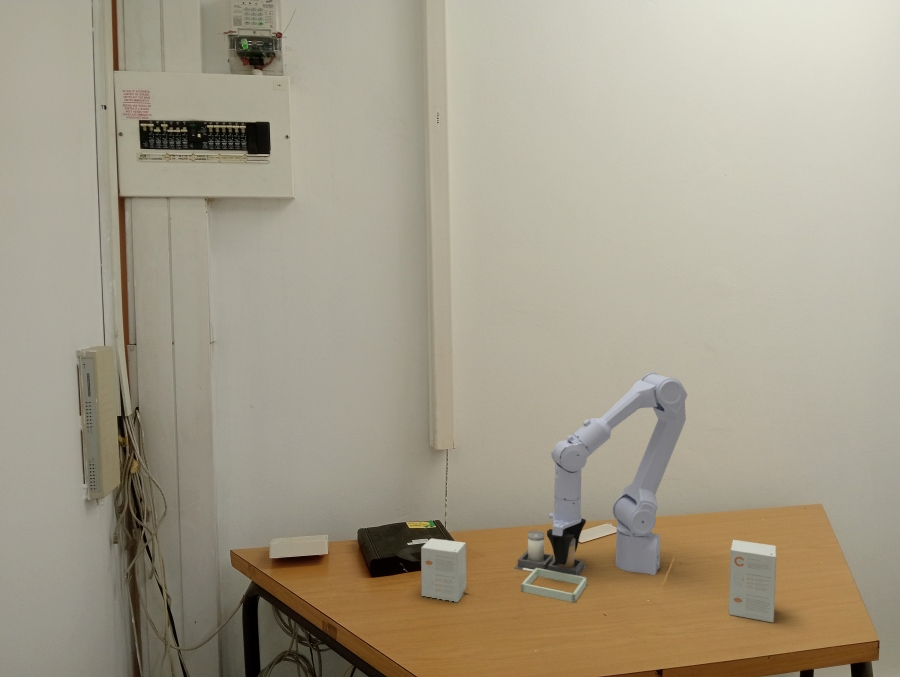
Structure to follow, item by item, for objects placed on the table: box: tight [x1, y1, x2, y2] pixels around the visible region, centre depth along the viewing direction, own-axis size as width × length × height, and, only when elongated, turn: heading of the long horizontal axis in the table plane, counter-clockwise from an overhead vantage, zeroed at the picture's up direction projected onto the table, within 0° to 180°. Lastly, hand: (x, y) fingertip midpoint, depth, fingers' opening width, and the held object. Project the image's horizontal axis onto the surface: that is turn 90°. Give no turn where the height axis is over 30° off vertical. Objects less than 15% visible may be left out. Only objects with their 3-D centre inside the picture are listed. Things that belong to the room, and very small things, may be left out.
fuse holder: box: [513, 549, 588, 576], centre depth 156 cm, size 14×9×2 cm, turn 64°
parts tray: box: [520, 568, 588, 603], centre depth 145 cm, size 11×9×2 cm
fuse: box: [527, 530, 546, 563], centre depth 157 cm, size 4×4×7 cm
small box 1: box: [420, 537, 467, 603], centre depth 144 cm, size 8×6×10 cm
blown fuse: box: [558, 537, 576, 569], centre depth 154 cm, size 4×4×7 cm
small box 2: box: [728, 539, 777, 624], centre depth 137 cm, size 8×6×13 cm
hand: (566, 557), depth 154 cm, fingers open, 7 cm apart
